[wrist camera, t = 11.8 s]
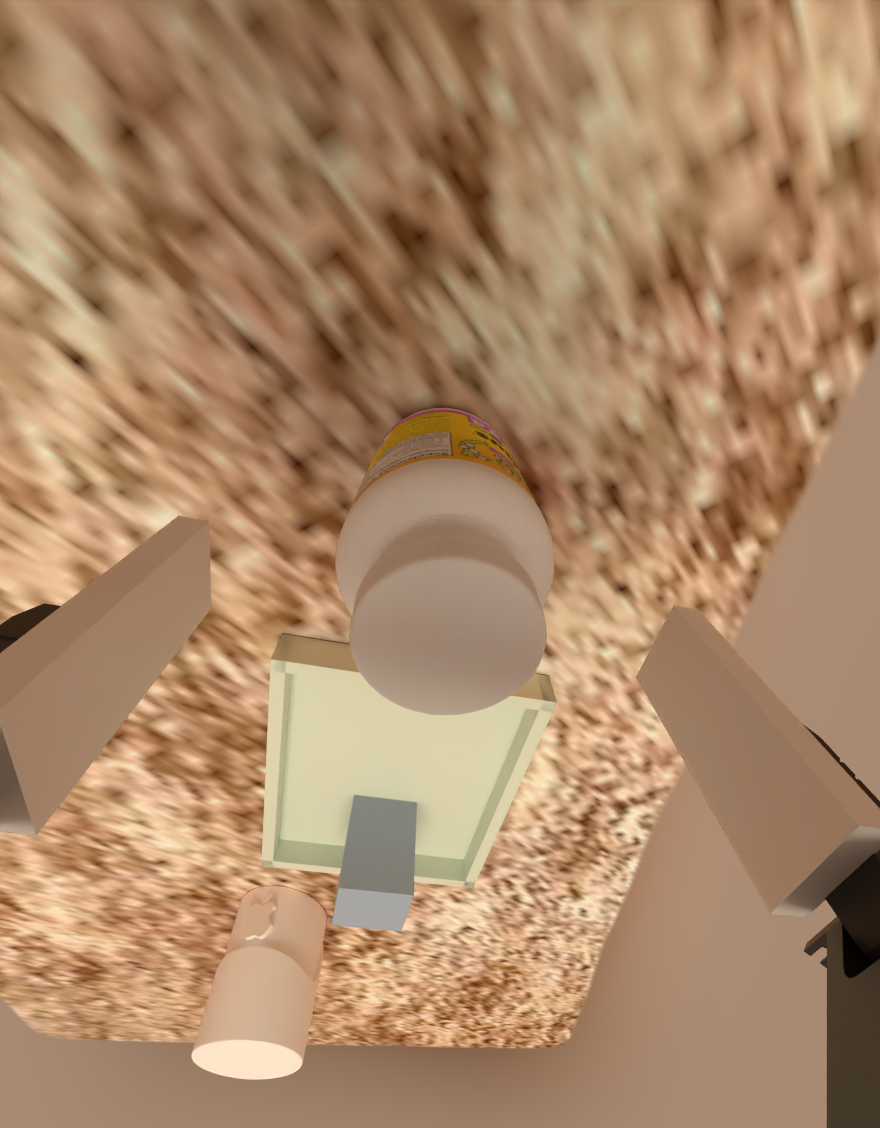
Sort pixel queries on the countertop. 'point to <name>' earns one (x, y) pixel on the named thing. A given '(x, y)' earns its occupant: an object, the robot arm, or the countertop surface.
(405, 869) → the grey rectangular block
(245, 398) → the countertop surface
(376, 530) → the supplement bottle
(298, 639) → the tray
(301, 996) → the mug
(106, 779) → the countertop surface
